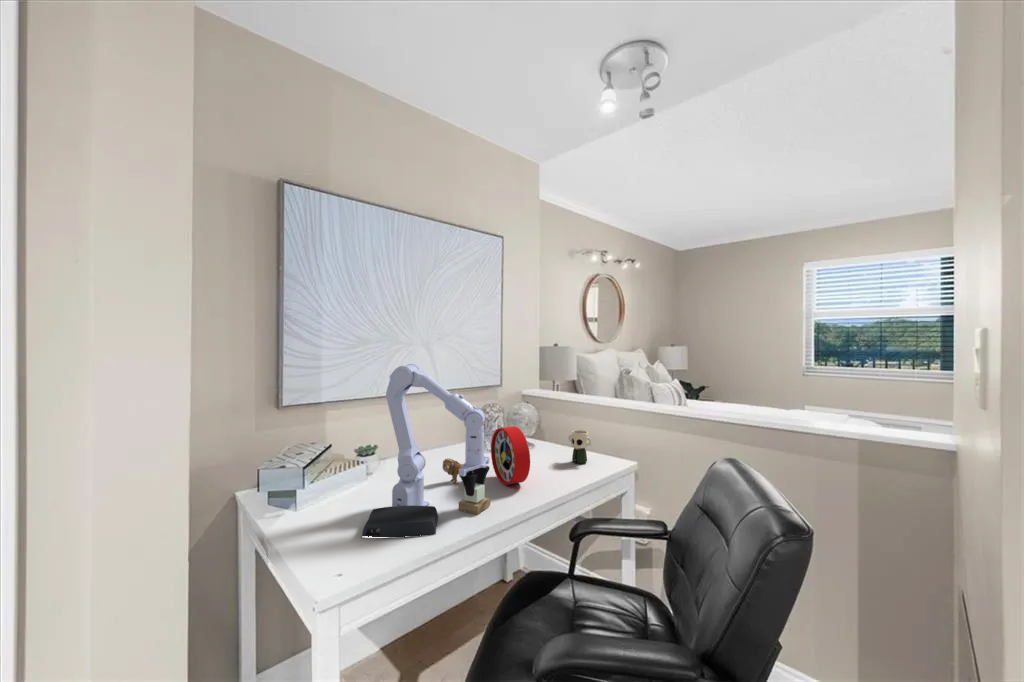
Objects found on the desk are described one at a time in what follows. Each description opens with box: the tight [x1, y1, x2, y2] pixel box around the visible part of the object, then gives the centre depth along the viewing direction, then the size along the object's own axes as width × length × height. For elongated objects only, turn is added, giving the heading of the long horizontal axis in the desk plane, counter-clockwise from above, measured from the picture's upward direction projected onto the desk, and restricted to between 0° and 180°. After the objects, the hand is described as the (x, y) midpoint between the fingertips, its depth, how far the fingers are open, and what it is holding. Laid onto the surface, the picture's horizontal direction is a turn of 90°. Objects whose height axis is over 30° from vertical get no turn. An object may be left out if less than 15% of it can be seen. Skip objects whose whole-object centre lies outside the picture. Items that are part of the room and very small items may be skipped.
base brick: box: [458, 497, 491, 516], centre depth 127 cm, size 7×7×2 cm
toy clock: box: [490, 425, 531, 486], centre depth 150 cm, size 20×6×20 cm, turn 27°
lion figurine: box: [441, 457, 474, 485], centre depth 151 cm, size 15×5×9 cm, turn 109°
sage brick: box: [463, 483, 486, 503], centre depth 127 cm, size 4×4×4 cm
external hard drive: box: [361, 505, 439, 538], centre depth 115 cm, size 13×19×4 cm
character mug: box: [568, 429, 592, 464], centre depth 174 cm, size 11×7×13 cm, turn 49°
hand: (474, 492), depth 127 cm, fingers open, 5 cm apart
